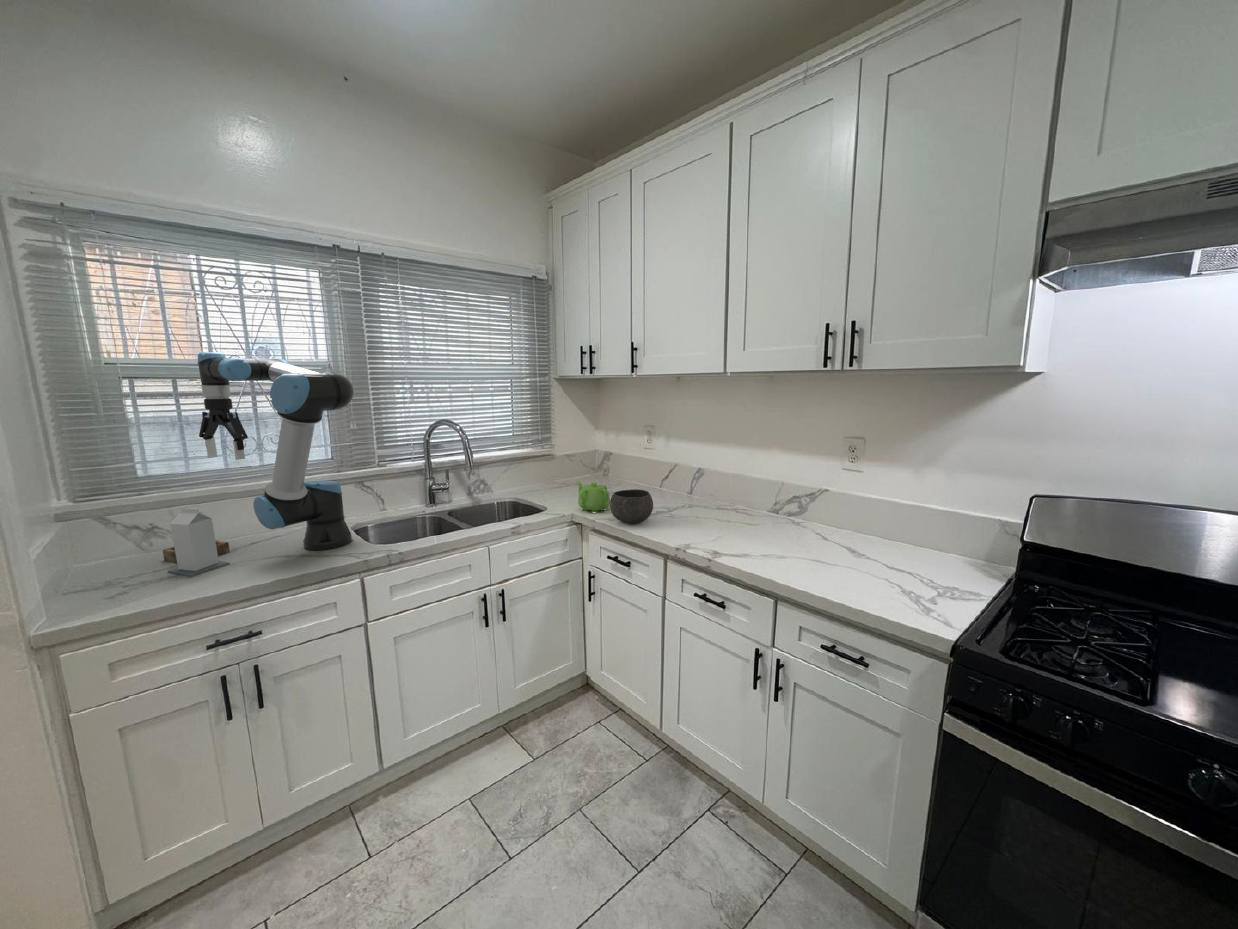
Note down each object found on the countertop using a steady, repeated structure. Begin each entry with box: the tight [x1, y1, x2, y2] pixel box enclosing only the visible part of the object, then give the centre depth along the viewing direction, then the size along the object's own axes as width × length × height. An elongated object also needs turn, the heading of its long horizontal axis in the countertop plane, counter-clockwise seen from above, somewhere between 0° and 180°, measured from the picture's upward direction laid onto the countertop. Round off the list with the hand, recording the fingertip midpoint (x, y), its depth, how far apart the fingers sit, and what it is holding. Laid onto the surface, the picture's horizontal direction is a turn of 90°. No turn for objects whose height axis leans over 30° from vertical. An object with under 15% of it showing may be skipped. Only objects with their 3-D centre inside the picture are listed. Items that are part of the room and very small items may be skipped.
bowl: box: [609, 488, 654, 525], centre depth 200 cm, size 18×18×13 cm
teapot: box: [575, 480, 611, 513], centre depth 219 cm, size 16×14×13 cm
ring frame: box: [162, 539, 231, 563], centre depth 165 cm, size 12×12×4 cm
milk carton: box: [170, 507, 220, 571], centre depth 152 cm, size 7×7×19 cm
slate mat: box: [167, 560, 230, 578], centre depth 154 cm, size 11×11×1 cm
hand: (226, 458), depth 172 cm, fingers open, 13 cm apart
